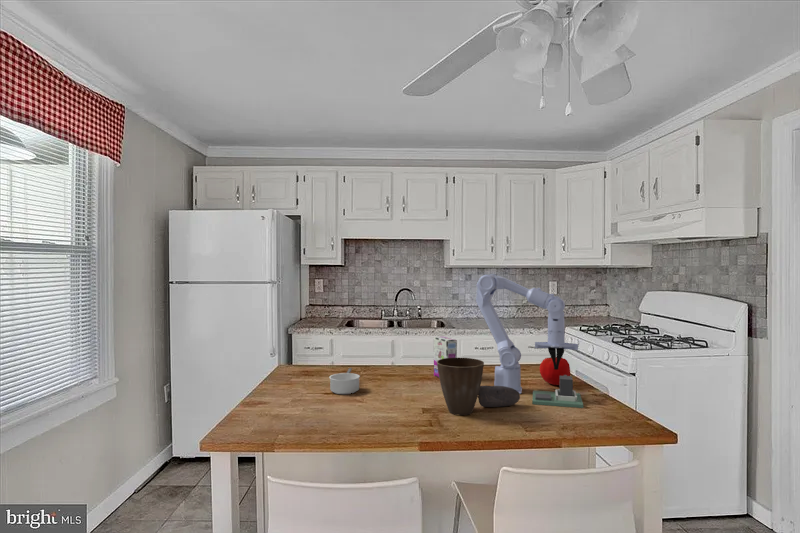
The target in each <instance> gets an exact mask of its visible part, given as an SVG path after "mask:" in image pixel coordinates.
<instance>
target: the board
mask: <svg viewBox="0 0 800 533" xmlns="http://www.w3.org/2000/svg"><path fill="white" fill-rule="evenodd" d="M531 401H532V405H537V406H549V407H550V406H551V407H552V406H553V407H562V408H563V407H567V408H577V409H578V408H579V409H583V408H584V403H583V399H582V395H581V393H579V392H576V390H575V389H573V396H560V388H558V389H556V388H555V391H550V390H548V391H547V390H535V389H534V390H532V400H531Z"/></svg>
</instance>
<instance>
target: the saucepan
mask: <svg viewBox="0 0 800 533" xmlns="http://www.w3.org/2000/svg"><path fill="white" fill-rule="evenodd" d="M352 369H353V368H352V367H349V368H348V369H347V371H346V372H339V373H334V374H331V375H330V376H328V378H329V383H330V384H329V385H330V386H329V388H330V389H329V390H330V391H331V392H332V393H334V394H337V395H352V394H354V393H356V392H357V391H359V390H360V378H361V375H360V374H358V373H353V372H352ZM351 372H352V373H351ZM351 393H352V394H351Z"/></svg>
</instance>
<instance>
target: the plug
mask: <svg viewBox="0 0 800 533" xmlns="http://www.w3.org/2000/svg"><path fill="white" fill-rule="evenodd" d="M573 381H574V380H573V376H571V375H570V376H567V375H564V376H560V385H559V389H560V396H573V390H574V389H573V387H574V386H573V385H574V382H573Z"/></svg>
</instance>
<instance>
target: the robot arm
mask: <svg viewBox="0 0 800 533" xmlns="http://www.w3.org/2000/svg"><path fill="white" fill-rule="evenodd" d="M475 287H476V295H475V297H476V298H475V302H476V305H477V306H478V309H479V310H480V313H481V315H482V317H483V319H484V321H485V323H486V324H487V327H488V329H489V331H490V333H491V335H492V337H493V340H494V342H495V344H496V347H497V348H496V349H497V352H498V354H499V362H500V365H495V366H494V382H493V384H494V385H493V386H505V387H510V388H513V389H515V390H516V391H518V392H519V394H522V391H523V387H522V386H521V385H522V384H521V383H522V382H521V379H522V378H521V367H522V366H521V364H520V363H519V361H521V358H522V354H521V351H520V349H519V348H517V347H516V345H515V344H514V342H513V341H512V340H511V339H510V338H509V335H508V334H507V330H506V329H505V327H504V325H503V323H502V321H501V320H500V317H499V315H498V313H497V311H496V309H495V307H494V304H493V303H492V301H491V300H492V298H493V295H494V293H495V292H496V291H497V290H507V291H510V292H513V293H515V294H517V295H520V296H523V297H525V298H526V300H527V302H528V303H530V304H532V305H535V306H537V307H539V308H542V309H544V310H547V312H548V313H547V314H548V317H547V341H535V342H534V349H547V350H548V354H549V355H550V357H551V358H552V361H553V364H554V370H558V368H559V363H560V360H561V358H563V355H564V353H565V350H573V351H578V350H579V344H578V343H572V342H571V343H570V342H566V341H565V339H566V338H565V335H566V334H565V332H566V331H565V324H566V323H565V321H566V320H565V311H564V310H565V307H566V302H565V300H564V299H563V298H562V297H560V296H558V295H557V296H555V294H554V293H549V292H547V291H544V290H542V288H541V287H532V288H527V287H526V286H524V285H522V284H519V283H517V282H515V281H513V280H511V279H509V278H507V277H504V276H501V275H497V274H495V273H490V274H483V275H481V276H480V277H479V279H478V281H477V283H476V286H475ZM556 357H557V360H556Z"/></svg>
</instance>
